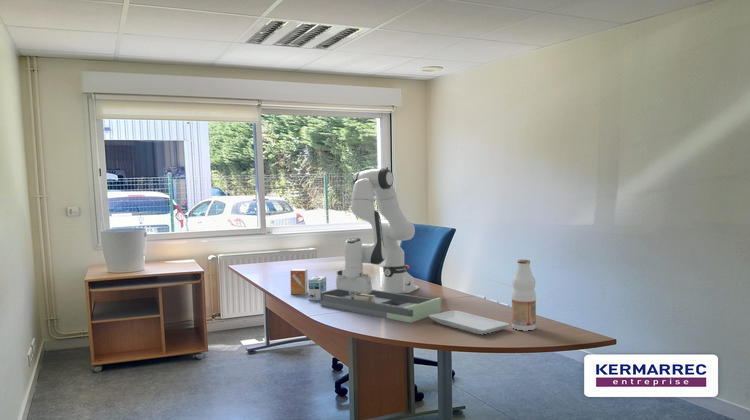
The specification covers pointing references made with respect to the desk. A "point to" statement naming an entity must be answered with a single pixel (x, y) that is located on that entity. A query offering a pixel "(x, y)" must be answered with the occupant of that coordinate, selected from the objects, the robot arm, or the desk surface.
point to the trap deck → (383, 304)
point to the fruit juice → (523, 298)
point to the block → (365, 297)
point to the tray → (468, 322)
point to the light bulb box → (316, 287)
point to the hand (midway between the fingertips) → (354, 300)
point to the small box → (299, 281)
